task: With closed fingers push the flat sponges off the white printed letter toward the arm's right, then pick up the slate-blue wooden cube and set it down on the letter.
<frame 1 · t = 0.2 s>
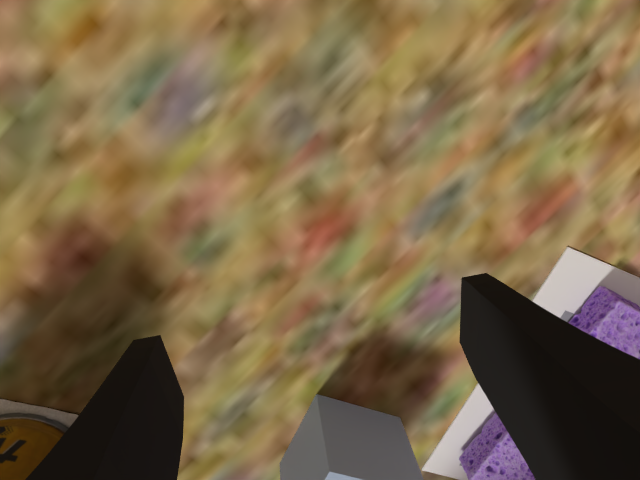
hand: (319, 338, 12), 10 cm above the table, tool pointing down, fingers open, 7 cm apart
letter: (568, 394, 27), on the table
sponges: (566, 392, 27), on the table, touching letter
condiment: (46, 459, 25), on the table
cube: (339, 439, 27), on the table
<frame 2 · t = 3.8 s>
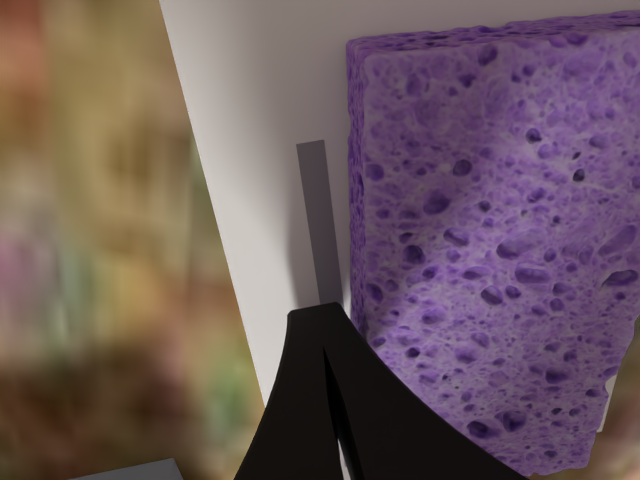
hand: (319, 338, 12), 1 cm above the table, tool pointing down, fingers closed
letter: (452, 285, 13), on the table
sponges: (475, 274, 13), on the table, touching gripper, letter
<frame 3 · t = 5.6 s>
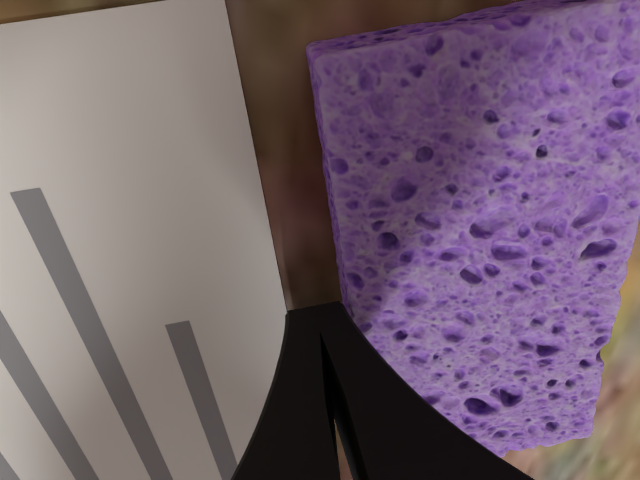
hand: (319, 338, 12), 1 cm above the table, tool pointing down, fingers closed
letter: (69, 358, 12), on the table
sponges: (460, 255, 13), on the table, touching gripper
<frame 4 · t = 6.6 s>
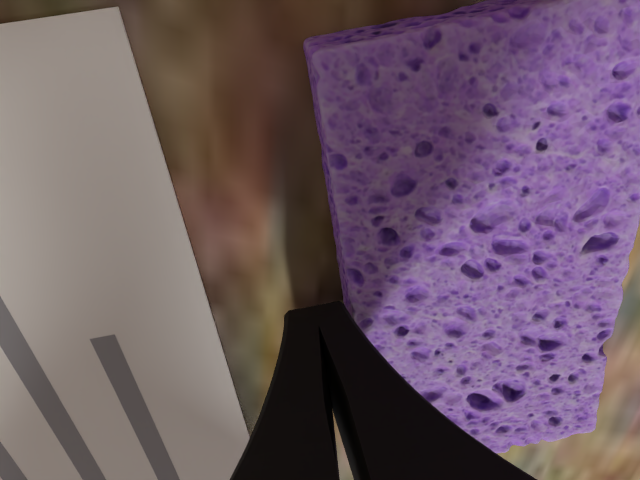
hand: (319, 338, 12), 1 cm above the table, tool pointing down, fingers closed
sponges: (461, 250, 13), on the table
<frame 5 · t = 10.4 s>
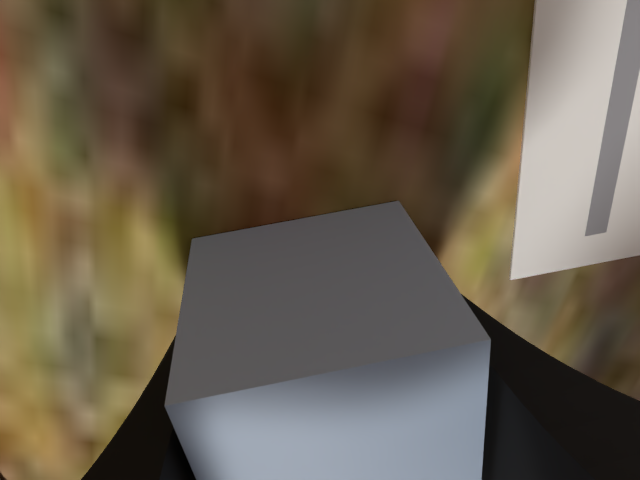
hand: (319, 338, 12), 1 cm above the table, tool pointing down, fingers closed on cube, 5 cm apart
cube: (311, 301, 13), on the table, touching gripper
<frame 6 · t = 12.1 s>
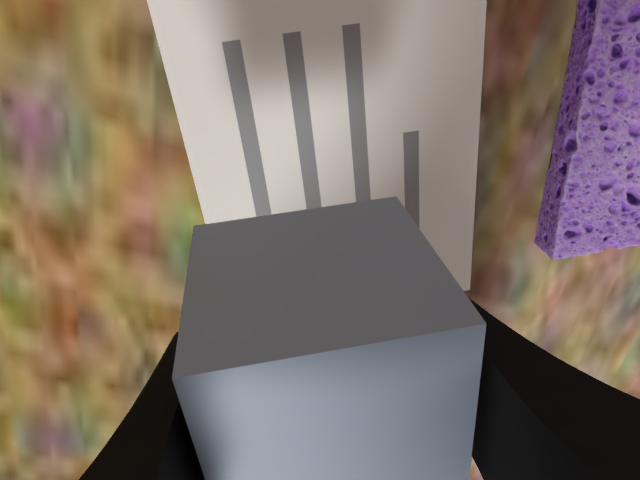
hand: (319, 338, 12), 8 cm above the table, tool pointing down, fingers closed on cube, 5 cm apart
letter: (339, 155, 18), on the table
sponges: (629, 91, 20), on the table
cube: (306, 293, 13), point 7 cm above the table, touching gripper
when the fingers open (3 cm above the table, at t = 13.8 s): cube drops 1 cm, resting on letter.
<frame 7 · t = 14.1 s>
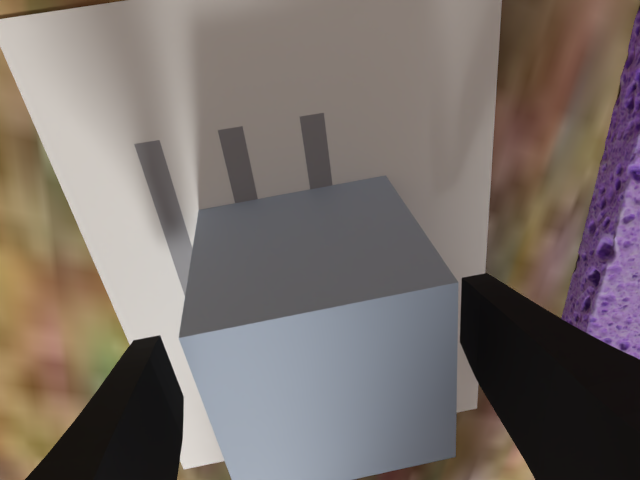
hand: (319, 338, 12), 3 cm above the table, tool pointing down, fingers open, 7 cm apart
letter: (304, 271, 14), on the table
cube: (307, 270, 14), resting on letter
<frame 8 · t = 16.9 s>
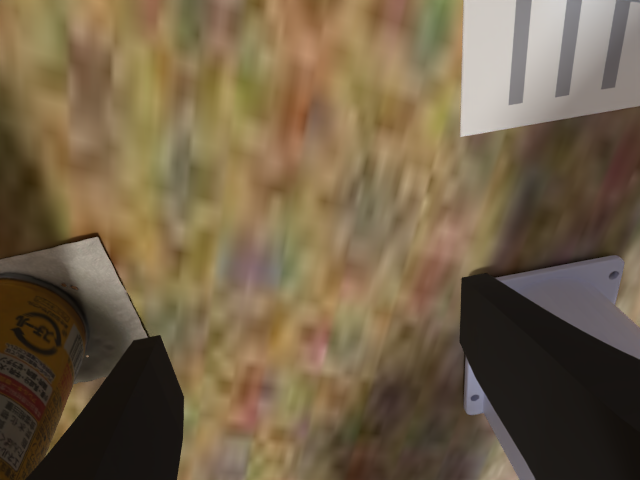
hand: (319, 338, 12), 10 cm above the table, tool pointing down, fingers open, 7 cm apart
condiment: (41, 321, 22), on the table
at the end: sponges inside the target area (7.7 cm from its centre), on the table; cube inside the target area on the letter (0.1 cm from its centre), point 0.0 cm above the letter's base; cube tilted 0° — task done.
